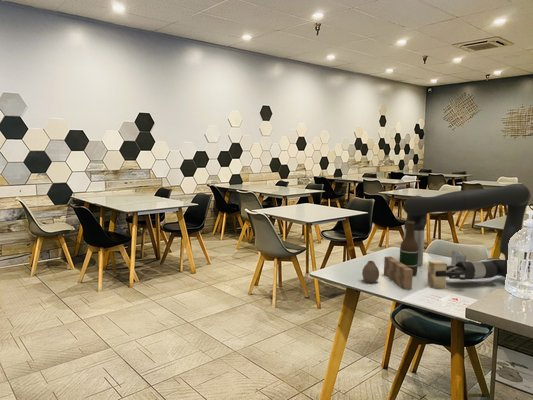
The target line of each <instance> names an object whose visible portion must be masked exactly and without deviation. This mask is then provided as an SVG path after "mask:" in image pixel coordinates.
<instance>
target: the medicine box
mask: <svg viewBox="0 0 533 400" xmlns="http://www.w3.org/2000/svg"><path fill="white" fill-rule="evenodd" d="M451 251H452V252H451V262H450V265H454V266H455V265H456V264H457V263H458V262H462V261H467V255H466V254H465V253H464V252H463V251H462V250H461V251H460V250H451Z"/></svg>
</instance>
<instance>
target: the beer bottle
mask: <svg viewBox="0 0 533 400" xmlns="http://www.w3.org/2000/svg"><path fill="white" fill-rule="evenodd" d="M405 222H406V221H405ZM406 224H407V227H406V235H405V239H404V238H403V240H402V241H401V244H400V247H399V260H398V261H399V262H401V263H402V264H404V265H406V266H407V267H409V268H411V269H412V270H413V275H412V277H414V276H417V274H418V245H417V242H416V241H415V237H414V225H415V222H413V221H407V222H406Z"/></svg>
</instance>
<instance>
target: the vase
mask: <svg viewBox="0 0 533 400" xmlns="http://www.w3.org/2000/svg"><path fill="white" fill-rule="evenodd" d="M361 271H362V272H361V274H362V279H363V280H364V281H365V282H366V283H369V284H374V283H376V282H377V281H378V280H379V275H380V270H379V268H378V266H377V265H376V263H375V261H374V260H368V261H367V263H366V264H365V265H364V267H363V269H362V270H361Z"/></svg>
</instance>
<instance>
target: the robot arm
mask: <svg viewBox="0 0 533 400" xmlns="http://www.w3.org/2000/svg"><path fill="white" fill-rule="evenodd" d="M531 196H532V195H531V191H530V189H529V188H528V187H527V186H526V185H525V184H522V183H517V182H516V183H511V184H507V185H502V186H497V187H492V188H491V187H490V188H476V189H464V190H457V191H450V192H445V193H442V194H438V195H435V196H424V197H423V196H421V195H413V196H411V197H409V198H407V199H406V200H405V201H404V203H403V205H402V207H403V211H404V212H405V213H406V219H405V222H404V226H403V227H404V230H403V240H404V239H405V235H406V227H407V224H406V222H407V221H413V222H415V225H414V237H415V241H416V242H417V245H418V266H422V265H423V262H424V245H425V243H424V242H425V228H426V227H425V226H426V223H427V218H428V217H427V216H428V215H427V214H432V213H454V212H466V211H474V210H480V209H482V208H488V207H490V206H503V205H504V206H506V208H507V209H506V217H505V220H504V226H503V229H502V233H501V236H500V237H501V238H500V244H499V252H500V254H502V255H504V259H494V260H493V259H491V260H489V261H487V260H486V261H485V260H484V261H483V260H482V261H477V260H476V261H475V260H466V261H462V262H458V263H457V264H456V265H455V266H454V265H451V264H449V265H448V264H447V267H446V271H436V272H435V276H436V277H444V276H445V277H446V278H448V279H450V280H451V279H453V280H462V281H466V280H467V281H470V280H479V279H480V280H481V279H492V278H495V277H496V276H497V277H503V278H506V274H507V260H508V243H509V240H510V238H511V237H512V236H513V235H514V234H515V233H516V232H518V231H519V230H521V229H522V230H523V222H524V217H525V213H526V211H527V210H526V209H527V206H528V205H529V202H530V199H531Z"/></svg>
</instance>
